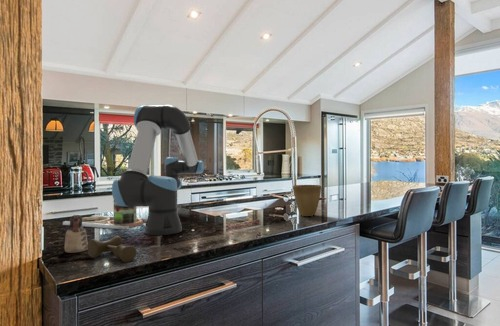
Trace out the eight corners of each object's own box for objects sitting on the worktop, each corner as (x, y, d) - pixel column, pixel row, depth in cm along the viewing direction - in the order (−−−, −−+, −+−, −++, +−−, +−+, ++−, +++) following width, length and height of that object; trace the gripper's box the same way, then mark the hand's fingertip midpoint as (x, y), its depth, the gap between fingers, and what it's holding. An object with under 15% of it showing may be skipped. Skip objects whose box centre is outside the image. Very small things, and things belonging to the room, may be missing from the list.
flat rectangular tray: (152, 221, 167) (152, 218, 167) (126, 229, 149) (126, 226, 149) (93, 218, 179) (93, 215, 179) (62, 224, 161) (62, 221, 161)
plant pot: (321, 213, 188) (321, 184, 188) (321, 218, 173) (320, 186, 173) (294, 213, 191) (294, 184, 191) (291, 217, 177) (291, 186, 176)
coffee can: (126, 227, 154) (126, 196, 154) (108, 225, 158) (108, 195, 158) (141, 223, 164) (141, 193, 164) (124, 221, 168) (124, 193, 168)
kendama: (114, 268, 99) (80, 254, 111) (143, 261, 107) (108, 249, 119) (115, 247, 99) (81, 236, 111) (144, 241, 107) (109, 231, 119)
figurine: (89, 246, 121) (88, 212, 121) (86, 251, 114) (86, 215, 114) (66, 248, 119) (66, 213, 119) (62, 253, 112) (62, 217, 112)
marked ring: (148, 222, 166) (148, 219, 166) (127, 228, 151) (127, 225, 151) (122, 220, 170) (122, 217, 170) (100, 226, 156) (100, 223, 156)
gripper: (182, 192, 186) (159, 196, 166) (143, 191, 194) (117, 194, 174) (182, 178, 186) (159, 180, 166) (143, 178, 194) (117, 180, 174)
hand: (138, 187), depth 170 cm, fingers open, 13 cm apart
